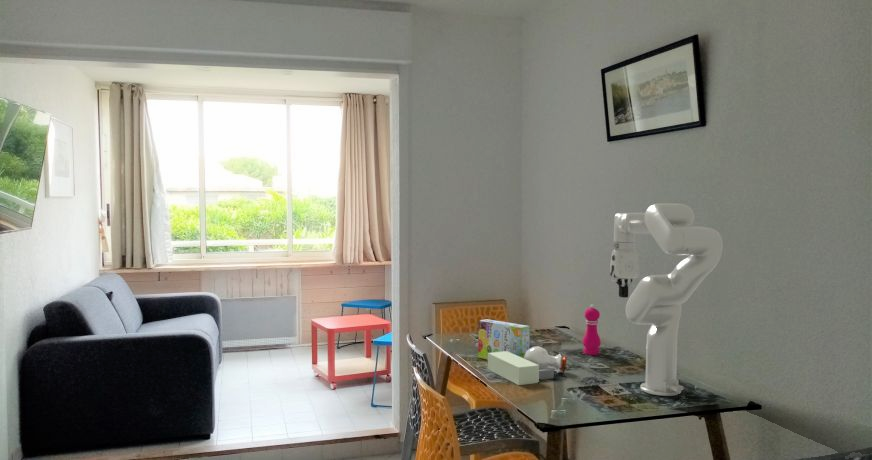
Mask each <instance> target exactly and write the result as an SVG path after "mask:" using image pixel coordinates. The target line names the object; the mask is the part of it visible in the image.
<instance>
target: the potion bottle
mask: <svg viewBox="0 0 872 460" xmlns="http://www.w3.org/2000/svg"><path fill="white" fill-rule="evenodd" d="M524 359H526V360H528V361H531V362H533V363H535V364H537V365H539V370H542V369H551V368H552V369H554V371H555V372H557V373H559V372H560V371H561V372H562V373H563V374H564V373H565V372H566V368H567V360H568V359H567V356H566V355H564V356H562V354H561V353H558V354H557V355H549V352H548V351H547V350H546V348H543V347H541V346H539V345H536V346H532V347H529V350H527V351H526V353H525V355H524Z"/></svg>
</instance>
